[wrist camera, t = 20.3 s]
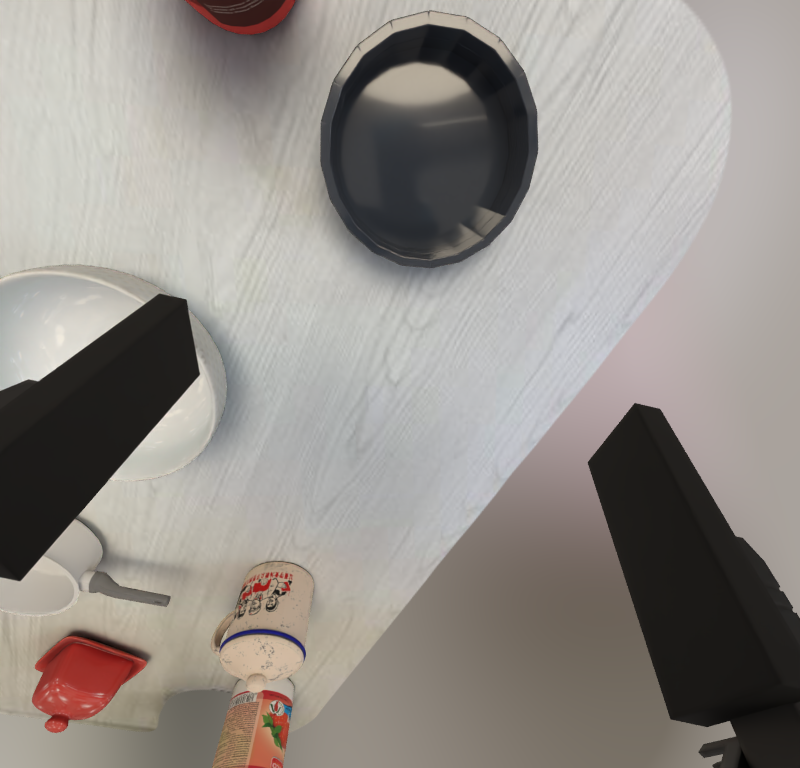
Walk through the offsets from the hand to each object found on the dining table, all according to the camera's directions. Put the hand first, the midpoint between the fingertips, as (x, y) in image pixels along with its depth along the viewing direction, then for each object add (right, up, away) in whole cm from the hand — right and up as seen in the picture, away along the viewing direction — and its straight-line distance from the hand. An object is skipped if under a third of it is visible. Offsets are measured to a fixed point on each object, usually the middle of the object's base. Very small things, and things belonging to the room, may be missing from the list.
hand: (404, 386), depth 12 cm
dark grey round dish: (+1, +16, +16) cm, 23 cm away
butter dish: (-44, -39, +44) cm, 73 cm away
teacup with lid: (-17, -26, +38) cm, 49 cm away
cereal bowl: (-22, +3, +22) cm, 31 cm away
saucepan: (-35, -18, +33) cm, 51 cm away
